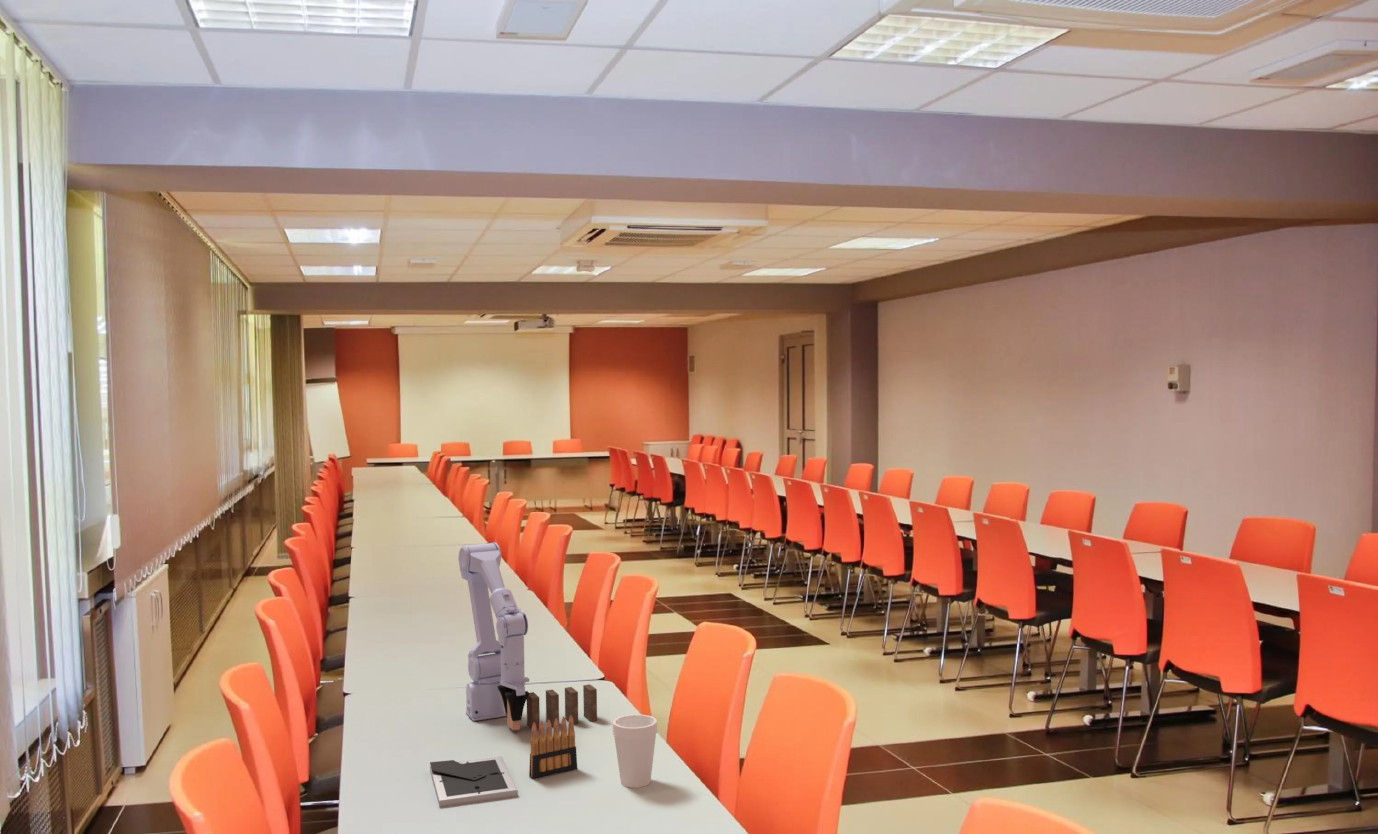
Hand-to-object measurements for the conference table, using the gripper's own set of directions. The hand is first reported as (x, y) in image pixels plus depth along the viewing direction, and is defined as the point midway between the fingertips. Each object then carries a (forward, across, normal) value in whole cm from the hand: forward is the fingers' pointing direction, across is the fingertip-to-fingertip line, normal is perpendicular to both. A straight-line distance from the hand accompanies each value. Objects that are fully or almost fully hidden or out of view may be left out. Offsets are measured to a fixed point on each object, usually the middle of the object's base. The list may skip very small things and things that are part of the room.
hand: (513, 717), depth 253 cm
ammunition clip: (+3, -32, 0) cm, 32 cm away
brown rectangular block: (+3, 0, -5) cm, 6 cm away
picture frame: (+4, -30, +17) cm, 35 cm away
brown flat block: (+3, 0, -20) cm, 20 cm away
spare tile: (+2, 0, 0) cm, 2 cm away
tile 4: (+3, 0, -15) cm, 15 cm away
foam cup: (+3, -45, -14) cm, 47 cm away
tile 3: (+3, 0, -10) cm, 10 cm away
